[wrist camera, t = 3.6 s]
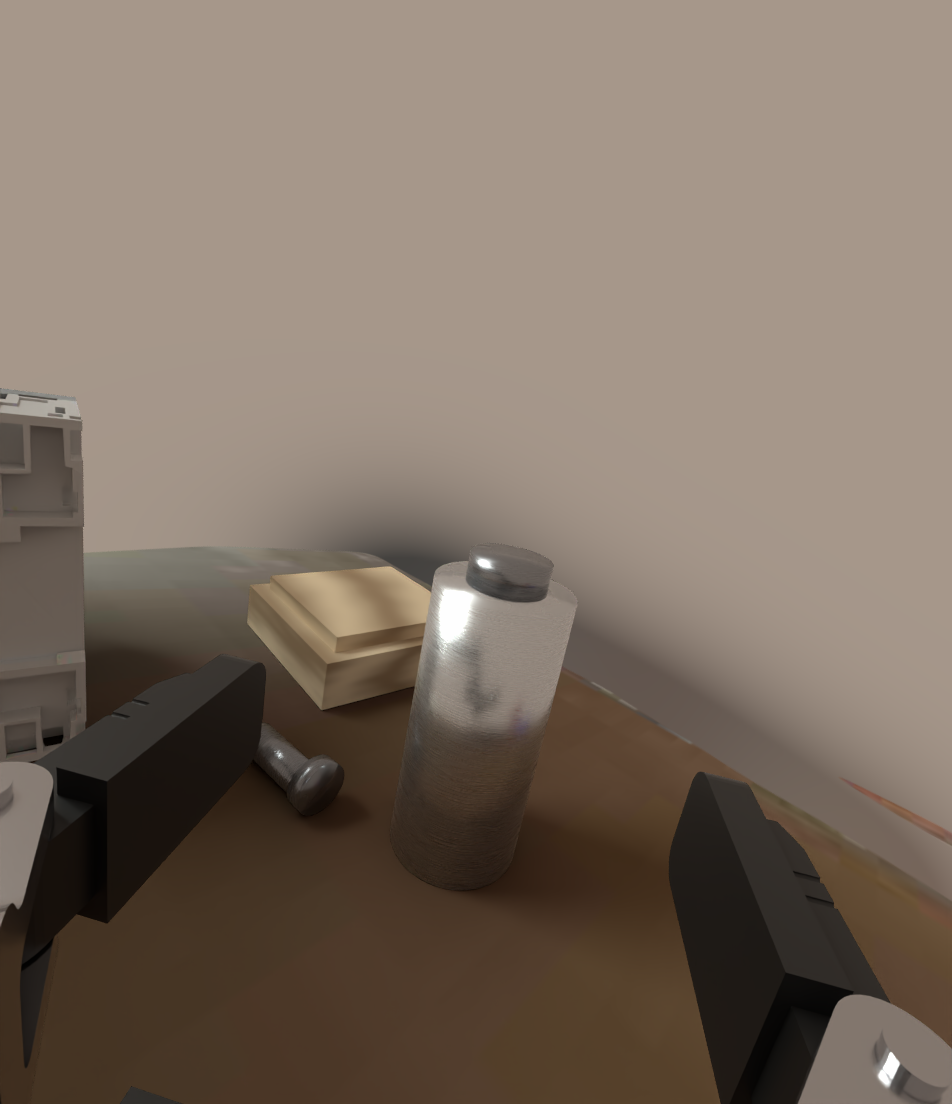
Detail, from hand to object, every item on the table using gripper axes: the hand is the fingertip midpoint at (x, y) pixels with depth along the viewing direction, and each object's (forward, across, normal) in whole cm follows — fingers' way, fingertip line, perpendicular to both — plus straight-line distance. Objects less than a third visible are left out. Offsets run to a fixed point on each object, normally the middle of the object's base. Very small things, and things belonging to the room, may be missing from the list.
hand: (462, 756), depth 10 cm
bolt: (+12, +9, +12) cm, 20 cm away
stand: (+26, +10, +12) cm, 31 cm away
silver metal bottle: (+12, 0, +12) cm, 17 cm away
